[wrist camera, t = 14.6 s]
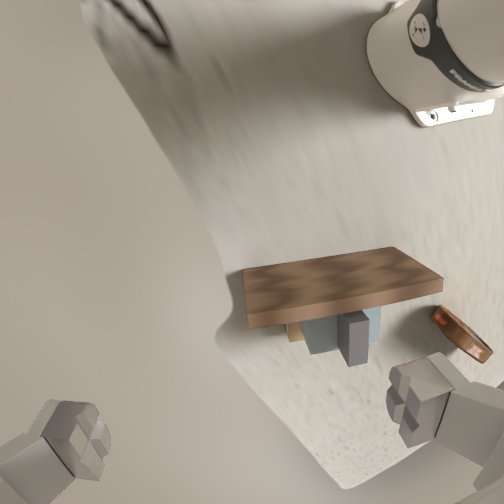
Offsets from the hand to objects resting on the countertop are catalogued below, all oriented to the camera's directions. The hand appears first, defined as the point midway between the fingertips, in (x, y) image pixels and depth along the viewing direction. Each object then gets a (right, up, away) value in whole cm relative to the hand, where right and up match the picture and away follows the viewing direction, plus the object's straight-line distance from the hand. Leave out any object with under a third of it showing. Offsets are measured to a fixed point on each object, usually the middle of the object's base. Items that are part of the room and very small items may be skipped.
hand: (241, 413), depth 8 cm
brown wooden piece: (+10, -1, +33) cm, 35 cm away
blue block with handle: (+10, -2, +30) cm, 32 cm away
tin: (+33, -8, +37) cm, 50 cm away
